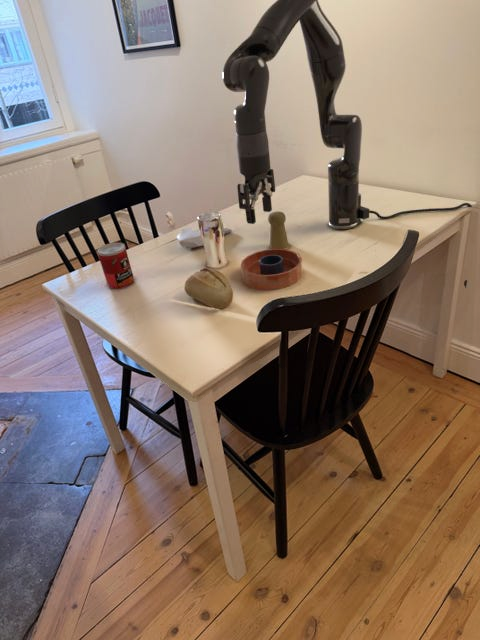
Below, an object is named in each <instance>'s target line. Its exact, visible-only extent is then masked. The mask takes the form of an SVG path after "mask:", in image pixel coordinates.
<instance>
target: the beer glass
mask: <svg viewBox="0 0 480 640" xmlns="http://www.w3.org/2000/svg"><path fill="white" fill-rule="evenodd" d="M197 223H198V231H199V232H200V237H201V240H202V243H203V248H204V251H205V255H206V268H211V269H214V268H215V269H216V268H221V267H223V266H226V264H227V263H228V259H227V257H226V253H225V234H224V229H225V228H224V222H223V218H222V214H221V212H219V211H207V212H203V213H200V214H199V215H198V216H197Z"/></svg>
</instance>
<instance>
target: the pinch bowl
mask: <svg viewBox="0 0 480 640" xmlns="http://www.w3.org/2000/svg"><path fill="white" fill-rule="evenodd" d="M259 263H260V272H261V275H273V274H280V273H283V272H284V269H283V258H282V257H281V256H279V255H268V256H264V257H262V258H261V259H260V260H259Z"/></svg>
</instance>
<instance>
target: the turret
mask: <svg viewBox="0 0 480 640" xmlns="http://www.w3.org/2000/svg"><path fill="white" fill-rule="evenodd" d="M231 232H232V229H231V228H227V227H226V228H224V235H227V234H229V233H231ZM176 239H177V241H178V243H179V245H180V246H182V247H186V248H189V249H195V248H197V247H204V245H203V243H202V240H201V237H200V232H199V229H192V228H184V229H182V230H180V232H179V233H178V235H176Z"/></svg>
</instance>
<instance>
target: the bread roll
mask: <svg viewBox="0 0 480 640" xmlns="http://www.w3.org/2000/svg"><path fill="white" fill-rule="evenodd" d="M184 292H185V293H186V295H187V296H189V297H191V298H192V299H194V300H196V301H198V302H200V303H201V304H204V305H206V306H208V307H210V308H212V309H215V310H222V309H226V308H228V307H229V306H230V305H231V304H232V302H233V300H234V298H233V297H234V290H233V288H232V285H231V283H230V281H229V279H228V277H227V276H226V275H225V274H224V273H222V272H221V271H220V270H217V269H214V268H212V267H210V268H209V267H205V268H202V269H200V270H199V271H196V272H194V273H193V274H191V275H190V276H189V277H188V278H187V279H186V280H185V282H184Z"/></svg>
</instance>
